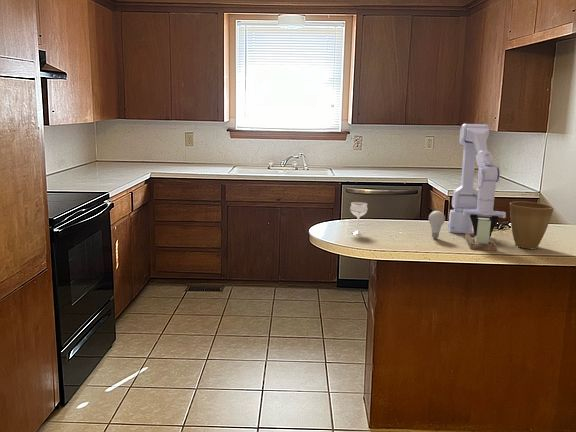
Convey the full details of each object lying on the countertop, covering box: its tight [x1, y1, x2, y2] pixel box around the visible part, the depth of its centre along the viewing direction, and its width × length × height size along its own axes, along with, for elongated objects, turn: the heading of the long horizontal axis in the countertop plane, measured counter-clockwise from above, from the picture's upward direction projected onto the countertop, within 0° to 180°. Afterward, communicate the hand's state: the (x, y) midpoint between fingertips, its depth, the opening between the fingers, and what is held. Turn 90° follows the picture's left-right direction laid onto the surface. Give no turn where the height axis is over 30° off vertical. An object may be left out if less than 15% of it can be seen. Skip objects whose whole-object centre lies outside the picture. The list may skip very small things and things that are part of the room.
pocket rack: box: [464, 233, 497, 252], centre depth 208 cm, size 9×17×2 cm, turn 169°
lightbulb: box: [428, 210, 446, 239], centre depth 214 cm, size 6×6×11 cm
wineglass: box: [349, 201, 368, 235], centre depth 219 cm, size 7×7×12 cm
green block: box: [474, 217, 491, 244], centre depth 203 cm, size 4×4×9 cm
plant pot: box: [509, 201, 554, 250], centre depth 205 cm, size 15×15×16 cm
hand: (482, 235), depth 204 cm, fingers closed on green block, 4 cm apart
